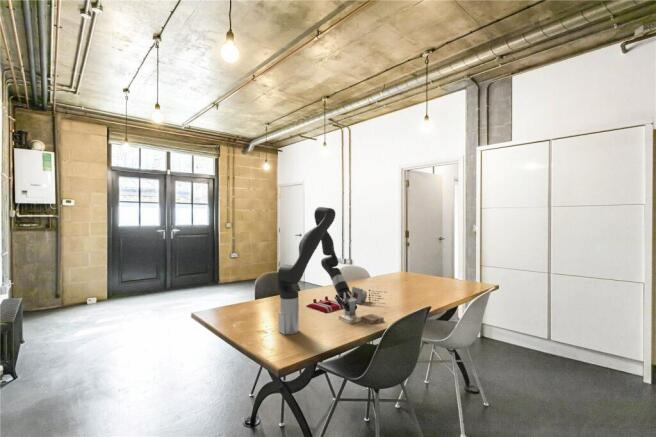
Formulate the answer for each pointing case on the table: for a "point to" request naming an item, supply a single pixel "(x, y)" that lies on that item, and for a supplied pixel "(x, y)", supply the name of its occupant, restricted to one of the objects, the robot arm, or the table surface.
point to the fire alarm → (325, 305)
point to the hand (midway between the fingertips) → (352, 309)
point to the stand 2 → (372, 318)
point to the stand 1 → (350, 319)
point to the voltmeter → (363, 295)
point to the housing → (350, 307)
